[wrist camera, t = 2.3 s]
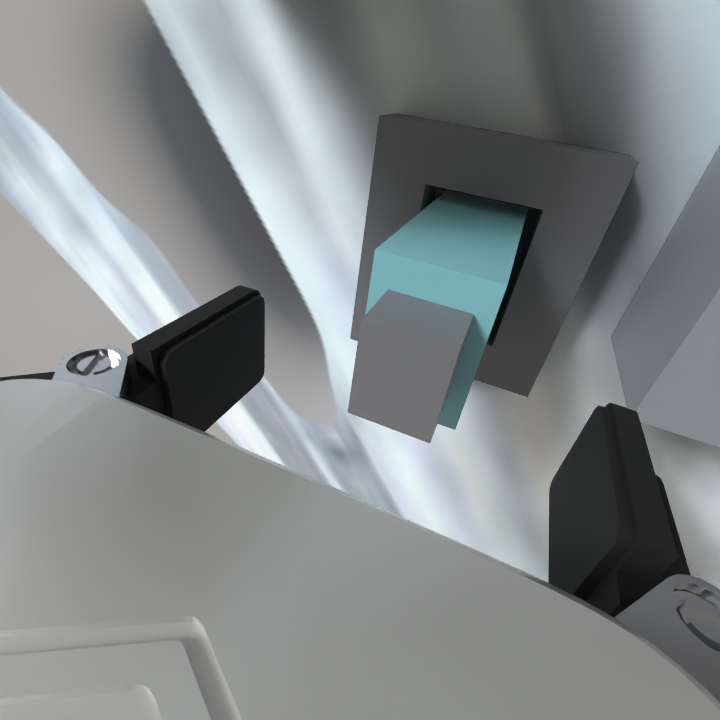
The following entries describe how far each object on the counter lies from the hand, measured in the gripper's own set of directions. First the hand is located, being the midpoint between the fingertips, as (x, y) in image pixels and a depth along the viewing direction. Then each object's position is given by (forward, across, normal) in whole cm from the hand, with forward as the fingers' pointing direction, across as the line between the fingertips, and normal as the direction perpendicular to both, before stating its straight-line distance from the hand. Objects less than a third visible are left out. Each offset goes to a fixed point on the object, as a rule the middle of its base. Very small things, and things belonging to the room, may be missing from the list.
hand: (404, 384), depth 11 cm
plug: (+10, 0, -1) cm, 10 cm away
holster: (+10, 0, -1) cm, 10 cm away
